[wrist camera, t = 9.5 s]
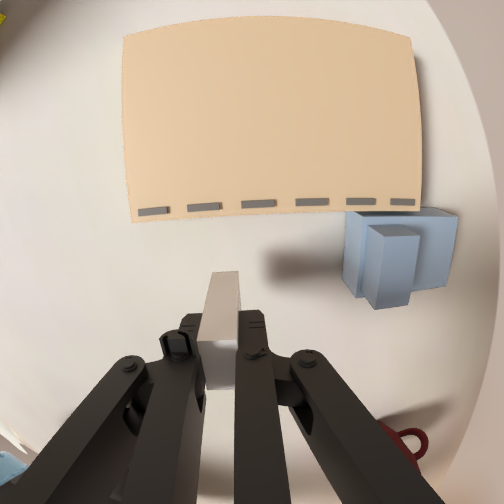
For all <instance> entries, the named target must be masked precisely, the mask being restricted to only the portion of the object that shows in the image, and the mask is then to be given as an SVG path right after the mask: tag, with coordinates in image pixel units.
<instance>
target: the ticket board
mask: <svg viewBox="0 0 504 504" xmlns="http://www.w3.org/2000/svg"><path fill="white" fill-rule="evenodd" d="M122 132H123V149H124V162H125V173H126V183H127V192H128V200H129V208H130V215H131V222H132V223H139V222H150V221H162V220H174V219H188V218H202V217H217V216H234V215H252V214H274V213H300V212H339V211H420V201H421V183H422V130H421V112H420V100H419V90H418V82H417V74H416V67H415V61H414V55H413V49H412V44H411V39H410V37H407V36H403V35H400V34H396V33H393V32H389V31H385V30H381V29H376V28H372V27H367V26H362V25H357V24H352V23H346V22H339V21H332V20H324V19H315V18H303V17H286V16H246V17H228V18H217V19H207V20H199V21H192V22H186V23H180V24H174V25H169V26H164V27H159V28H155V29H150V30H146V31H142V32H138V33H135V34H131V35H127V36H124V40H123V56H122Z"/></svg>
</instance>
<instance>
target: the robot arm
mask: <svg viewBox="0 0 504 504" xmlns="http://www.w3.org/2000/svg"><path fill="white" fill-rule="evenodd" d="M159 340H160V344H161V347H162V351H163V354H164V356H163V359H161V360H159V361H155V362H150V363H145V361H144V360H143V359H142V358H141V357H139V356H134V355H131V356H125V357H123V358H121V359H120V360H118V361H117V362H116V363H115V364H114V365H113V367H112V368H111V369H110V370H109V371H108V372H107V373H106V375H105V376H104V377H103V378H102V379H101V380H100V381H99V383H98V384H97V385H96V386H95V387H94V388H93V390H92V391H91V392H90V393H89V394H88V395H87V397H86V398H85V399H84V400H83V401H82V403H81V404H80V405H79V406H78V407H77V408H76V410H75V411H74V412H73V413H72V414H71V416H70V417H69V418H68V419H67V420H66V422H65V423H64V424H63V425H62V426H61V428H60V429H59V430H58V431H57V432H56V434H55V435H54V436H53V437H52V439H51V440H50V441H49V442H48V444H47V445H46V446H45V447H44V448H43V450H42V451H41V452H40V453H39V455H38V456H37V457H36V459H35V460H34V461H33V462H32V464H31V465H30V466H29V465H25V464H24V463H23V462H21V461H20V460H18V459H17V458H16V457H14V456H13V455H12V454H10V453H8V452H6V451H0V504H196V501H197V488H198V476H199V465H200V454H201V444H202V434H203V424H204V415H205V406H206V395H205V391H204V390H205V383H206V387H207V390H231V389H235V421H234V504H291V498H290V490H289V483H288V475H287V468H286V461H285V453H284V446H283V439H282V432H281V424H280V417H279V410H278V405H282V406H288V408H289V410H290V412H291V414H292V416H293V418H294V420H295V421H296V423H297V425H298V427H299V429H300V431H301V432H302V434H303V436H304V438H305V440H306V442H307V443H308V445H309V447H310V449H311V450H312V452H313V454H314V456H315V458H316V459H317V461H318V463H319V465H320V466H321V468H322V470H323V472H324V473H325V475H326V477H327V478H328V480H329V482H330V484H331V485H332V487H333V489H334V490H335V492H336V494H337V495H338V497H339V499H340V500H341V502H342V504H445V503H444V501H443V500H442V499H441V498H440V497H439V496H438V494H437V493H436V492H435V491H434V490H433V488H432V487H431V486H430V485H429V484H428V482H427V481H426V480H425V479H424V478H423V476H422V475H421V474H420V473H419V472H418V470H417V469H416V468H415V467H414V466H413V464H412V463H411V462H410V461H409V460H408V458H407V457H406V456H405V455H404V454H403V452H402V451H401V450H400V449H399V448H398V446H397V445H396V444H395V443H394V441H393V440H392V439H391V438H390V437H389V435H388V434H387V433H386V432H385V431H384V429H383V428H382V427H381V426H380V424H379V423H378V422H377V421H376V420H375V418H374V417H373V416H372V415H371V413H370V412H369V411H368V410H367V408H366V407H365V406H364V405H363V404H362V402H361V401H360V400H359V399H358V397H357V396H356V395H355V394H354V393H353V391H352V390H351V389H350V388H349V386H348V385H347V384H346V383H345V381H344V380H343V379H342V378H341V376H340V375H339V374H338V373H337V372H336V370H335V369H334V368H333V367H332V365H331V364H330V363H329V362H328V360H327V359H326V358H325V357H324V355H322V354H321V353H320V352H318V351H315V350H308V349H306V350H300V351H298V352H295V353H294V354H293V355H292V356H291V358H288V357H282V356H278V355H276V354H274V353H273V352H271V350H270V349H269V347H268V340H267V333H266V326H265V319H264V314H263V313H262V312H261V311H260V310H246V311H241V301H240V289H239V276H238V271H229V272H212V276H211V280H210V284H209V288H208V293H207V297H206V301H205V306H204V310H203V313H194V314H187V315H186V316H185V317H184V318H183V319H182V321H181V324H180V327H179V329H177V330H171V331H168V332H166V333H164V334H163V335H162V336H161V337H160V338H159Z"/></svg>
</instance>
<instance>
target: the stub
mask: <svg viewBox="0 0 504 504" xmlns="http://www.w3.org/2000/svg"><path fill="white" fill-rule="evenodd" d="M457 223H458V217H457V216H455V215H452V214H450V213H447V212H445V211H442V210H440V209H437V208H425V207H420V211H346V228H345V247H344V261H343V274H342V279H343V281H344V282H345V284H346V285H347V287H348V288H349V290H350V291H351V292H352V294H353V295H354V297H355V298H362V297H365V298H366V299H367V300H368V302H369V303H370V305H371V306H372V307H373V309H374V310H377V309H385V308H392V307H398V306H405V305H408V302H409V298H410V293H411V291H418V290H425V289H432V288H438V287H445V286H446V284H447V279H448V275H449V270H450V265H451V260H452V255H453V250H454V244H455V237H456V230H457Z"/></svg>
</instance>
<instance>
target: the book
mask: <svg viewBox="0 0 504 504" xmlns="http://www.w3.org/2000/svg"><path fill="white" fill-rule="evenodd" d="M5 18H6V16H5V15H3V14H1V13H0V26H1V24H2V23H3V21H4V20H5Z"/></svg>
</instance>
